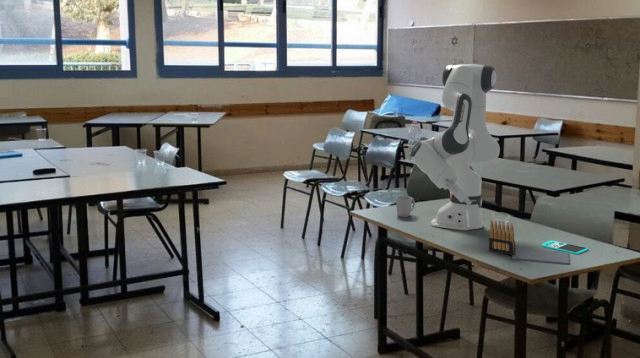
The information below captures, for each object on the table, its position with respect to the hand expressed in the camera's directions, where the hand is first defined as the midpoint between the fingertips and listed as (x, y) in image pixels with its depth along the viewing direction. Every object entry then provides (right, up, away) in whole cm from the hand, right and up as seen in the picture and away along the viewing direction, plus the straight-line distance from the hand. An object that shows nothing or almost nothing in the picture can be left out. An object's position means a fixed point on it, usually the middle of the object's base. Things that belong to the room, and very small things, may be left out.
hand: (469, 203), depth 254 cm
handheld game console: (+39, -19, +10) cm, 45 cm away
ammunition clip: (+13, -19, +3) cm, 23 cm away
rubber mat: (+26, -20, -1) cm, 33 cm away
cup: (-16, -8, +61) cm, 64 cm away
